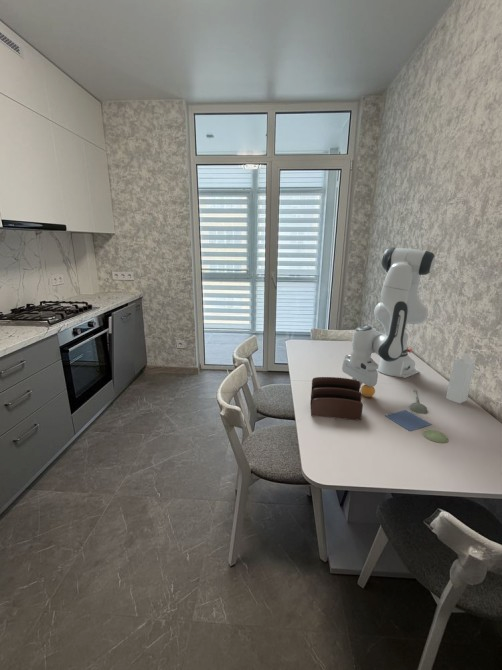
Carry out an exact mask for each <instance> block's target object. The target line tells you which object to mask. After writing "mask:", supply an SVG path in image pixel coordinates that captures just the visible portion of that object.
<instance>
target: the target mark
mask: <svg viewBox="0 0 502 670" xmlns="http://www.w3.org/2000/svg"><path fill="white" fill-rule="evenodd" d="M384 416H385V417H386V418H388V419H389V420H391V421H393V422H394V423H396V424H397V425H399V426H401V427H402V428H404V429H405V430H407V431H408V432H412V431H415V430H420V429H422V428H425V427H428V426H431V425H433V424H432V423H430V422H429V421H427V420H425V419H423V418H421V417H420V416H418V415H416V414H414V412H412V411H411V412H410V411H409V410H408V409H404V410H400V411H396V412H393V413H388V414H385V415H384Z"/></svg>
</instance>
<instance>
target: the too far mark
mask: <svg viewBox="0 0 502 670" xmlns="http://www.w3.org/2000/svg"><path fill="white" fill-rule="evenodd" d="M422 435H423V436H424V438H426V439H427V440H429V441H431V442H434V443H439V444H445V443H448V442H449V437H448V436H447V435H446V434H444V433H443V432H441V431H439V430H436V429H435V430H434V429H426V430H423V432H422Z"/></svg>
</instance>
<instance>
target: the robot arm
mask: <svg viewBox="0 0 502 670" xmlns="http://www.w3.org/2000/svg"><path fill="white" fill-rule="evenodd" d="M435 264H436V256H435V254H434V252H432V251H430V250H422V249H418V248H411V247H410V248H405V247H389V248H387V249H385V250H384V252H383V254H382V257H381V267H382V268H383V269H384V270H385V273H386V276H385V278H384V280H383V284H382V288H381V292H380V300H381V302H378V303H377V304H376V306H375V307H374V310H373V313H374V318H375V319H376V320H377V321H379V323H380V324H381V325H382V327H383V329H384V333H383V332H380V331H377V330H375V328H373V327H372V326H369V325H361V326H358V327H356V328H355V329H354V331H353V335H352V340H351V341H352V342H351V346H352V347H351V348H352V349H351V352H350V354H346V355H345V356H344V360H343V363H342V367H341V371H342V372H343V373H344V374H346V375H348V376H349V377H351V378H352V379H353V380H357V381H359V382H360V389H361V388H362V385H363V384H364V385H365V384H366V385H367V386H369V387H371V386H373V387H375V386H376V385H377V383H378V376H379V375H378V374H379V373H378V372H380V373H382V374H384V375H386V376H390V377H398V378H404V379H405V378H406V379H407V378H409V377H410V376H414V375H416V374H418V373H420V369H418V368H416V361H415V360H414V359H413V358H412V357H411V356H409V354H410V353H411V352H413V351H412V348H409V347H408V348H407V346H408V340H409V335H408V333H407V332H406V324H408V325H418V324H423V323H425V321H426V320H427V319H428V317H429V311H428V308H427V307H426V305H424V304H423V303H422V302H421V301H420V299H419V296H418V295H419V294H418V292H419V285H420V280H421V276H425V275H429V274H430V273H431V272H432V270H433V269H434V268H435V266H436V265H435ZM372 354H376V355H377V356H378V357H380V360H379V363H377V362H376V361H375V360H374V359H373V357H372Z"/></svg>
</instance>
